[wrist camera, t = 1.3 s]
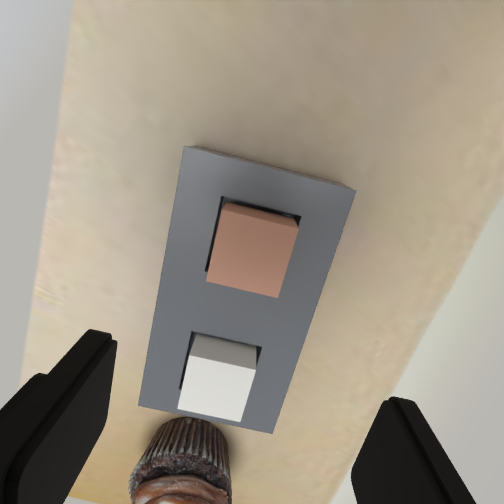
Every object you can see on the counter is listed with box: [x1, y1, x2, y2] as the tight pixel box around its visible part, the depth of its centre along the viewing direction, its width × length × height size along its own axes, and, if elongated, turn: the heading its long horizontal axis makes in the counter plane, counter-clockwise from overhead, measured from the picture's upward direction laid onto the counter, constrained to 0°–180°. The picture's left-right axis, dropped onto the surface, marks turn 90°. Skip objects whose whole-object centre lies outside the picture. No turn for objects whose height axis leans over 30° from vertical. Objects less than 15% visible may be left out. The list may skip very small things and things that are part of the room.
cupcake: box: [128, 417, 232, 504], centre depth 31 cm, size 10×10×10 cm
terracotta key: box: [206, 202, 299, 298], centre depth 23 cm, size 5×5×3 cm
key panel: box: [138, 146, 356, 434], centre depth 28 cm, size 22×12×4 cm, turn 166°
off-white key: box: [177, 333, 256, 422], centre depth 27 cm, size 5×5×3 cm
